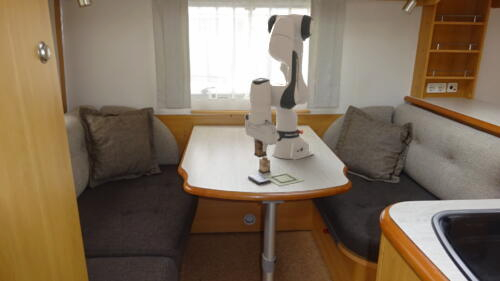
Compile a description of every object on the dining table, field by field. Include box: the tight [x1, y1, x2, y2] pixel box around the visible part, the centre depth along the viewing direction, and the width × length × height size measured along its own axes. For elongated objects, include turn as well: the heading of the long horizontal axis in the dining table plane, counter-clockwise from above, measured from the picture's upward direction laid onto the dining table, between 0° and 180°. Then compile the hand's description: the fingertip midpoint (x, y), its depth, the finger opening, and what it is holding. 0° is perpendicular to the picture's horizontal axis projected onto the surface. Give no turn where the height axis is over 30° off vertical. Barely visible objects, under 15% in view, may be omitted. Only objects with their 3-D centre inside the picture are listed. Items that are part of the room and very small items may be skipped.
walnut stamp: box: [253, 140, 268, 159], centre depth 156 cm, size 4×4×7 cm
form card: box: [264, 171, 305, 187], centre depth 162 cm, size 13×12×1 cm
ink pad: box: [247, 173, 272, 186], centre depth 159 cm, size 6×9×1 cm, turn 30°
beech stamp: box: [258, 156, 271, 175], centre depth 169 cm, size 4×4×7 cm
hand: (260, 149), depth 156 cm, fingers closed on walnut stamp, 4 cm apart
